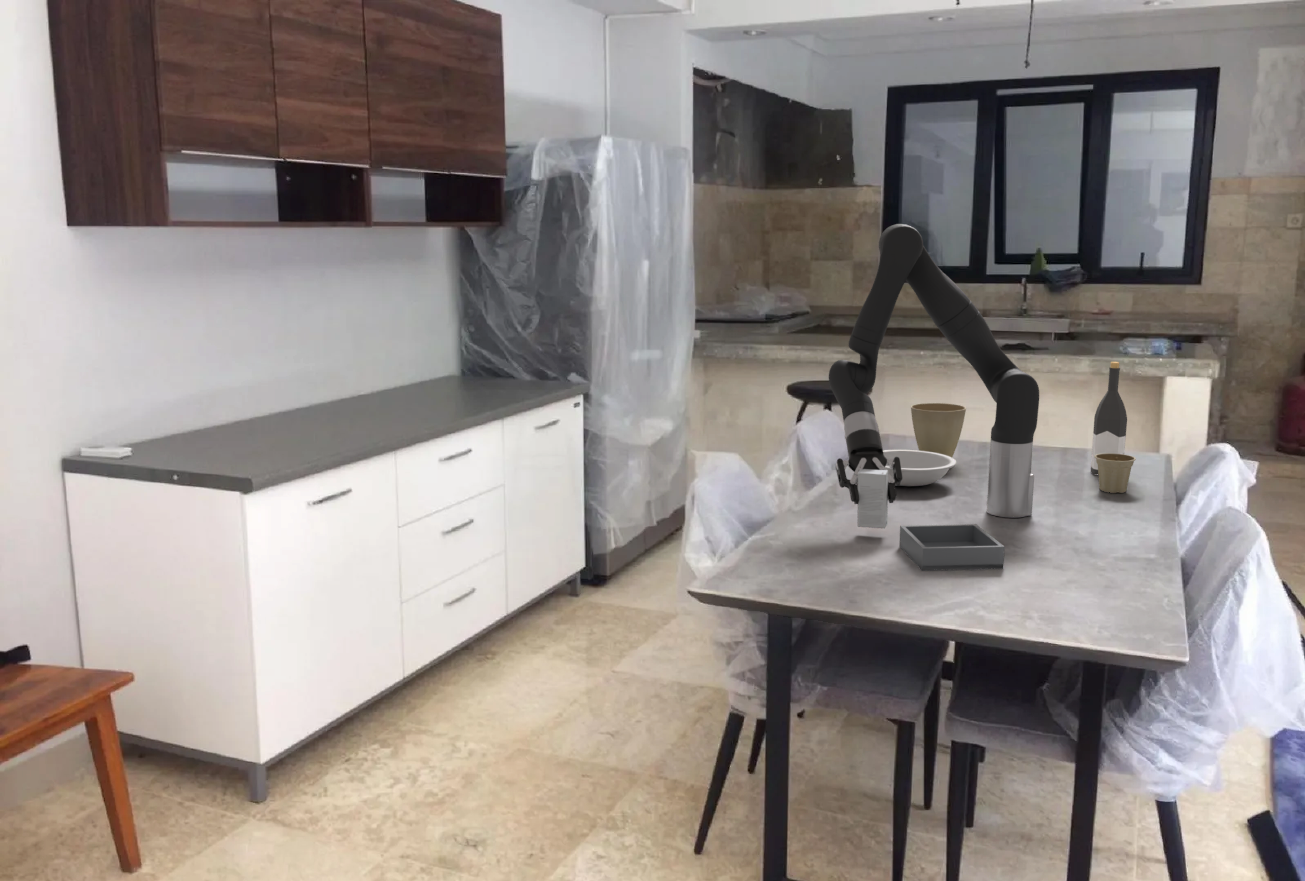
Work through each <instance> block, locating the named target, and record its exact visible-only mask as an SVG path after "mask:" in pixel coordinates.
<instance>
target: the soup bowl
mask: <svg viewBox="0 0 1305 881" xmlns="http://www.w3.org/2000/svg"><path fill="white" fill-rule="evenodd" d="M883 454H884V456H885V457H886V459H894V458H895V457H899V459H900V465H901V471H902V481H901V483H900V485H899V486H902V487H919V486H920V487H921V486H926V485H931V484H934V483H936V482H937V481H939V480H941V479H942V478H943V477H944V476H945V475H946V474H947V473H948V471H949V470H950V469H951V468H954V467H955V466H956V465H957V460H956V458H954V457H949V456H946V455H943V454H939V453H934V452H927V451H919V449H918V450H917V449H883ZM885 468H886V469H887V470H888V472H889V474H890V475H891V476H892V478H894V476H893V469H892V470H891V469H890V467H889V466H888V465H886V466H885Z"/></svg>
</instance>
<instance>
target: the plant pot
mask: <svg viewBox="0 0 1305 881" xmlns="http://www.w3.org/2000/svg"><path fill="white" fill-rule="evenodd" d="M966 411H967V406H964V405H961V404H956V403H946V402H942V403H941V402H927V403H926V402H925V403H922V402H921V403H915V404H912V405H910V413H911V414H910V415H911V419H912V426H913V427H912V428H913V432H914V437H915V441H916V446H917V448H918V451H927V452H934V453H939V454H943V455H946V456H949V457H952V458H954V455H955V451H956V449H957V446H958V443H959V441H960V438H961V434H962V429H963V426H964V421H965V416H966V413H967V412H966Z"/></svg>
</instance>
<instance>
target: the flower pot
mask: <svg viewBox="0 0 1305 881" xmlns="http://www.w3.org/2000/svg"><path fill="white" fill-rule="evenodd" d="M1095 458H1096V462H1097V464H1098V475H1099V476H1098V475H1097V476H1098V487H1099V490H1101V492H1103V491H1104V492H1103V493H1109V492H1110V493H1109V494H1116V493H1119V494H1124V493H1126V492H1127V490H1128V484H1129V481H1130V476H1131V472H1132V471H1131V470H1132V467H1133V466H1134V463H1135V461H1136V459H1137V458H1136V457H1135V456H1133V455H1129V454H1125V453H1124V454H1114V453H1103V454H1097V455H1095Z"/></svg>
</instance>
